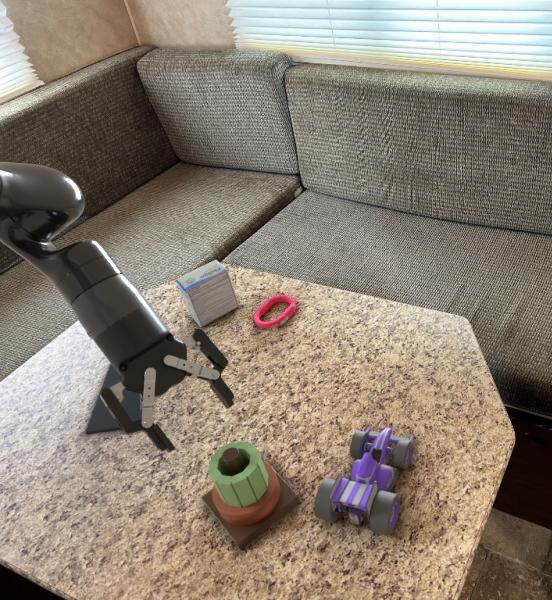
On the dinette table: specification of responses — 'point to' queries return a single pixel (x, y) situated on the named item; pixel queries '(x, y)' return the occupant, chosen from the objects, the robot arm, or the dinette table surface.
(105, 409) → the mat
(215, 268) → the medicine box
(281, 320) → the fitness band
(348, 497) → the toy race car
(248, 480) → the green ring
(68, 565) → the dinette table surface
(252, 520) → the stand
